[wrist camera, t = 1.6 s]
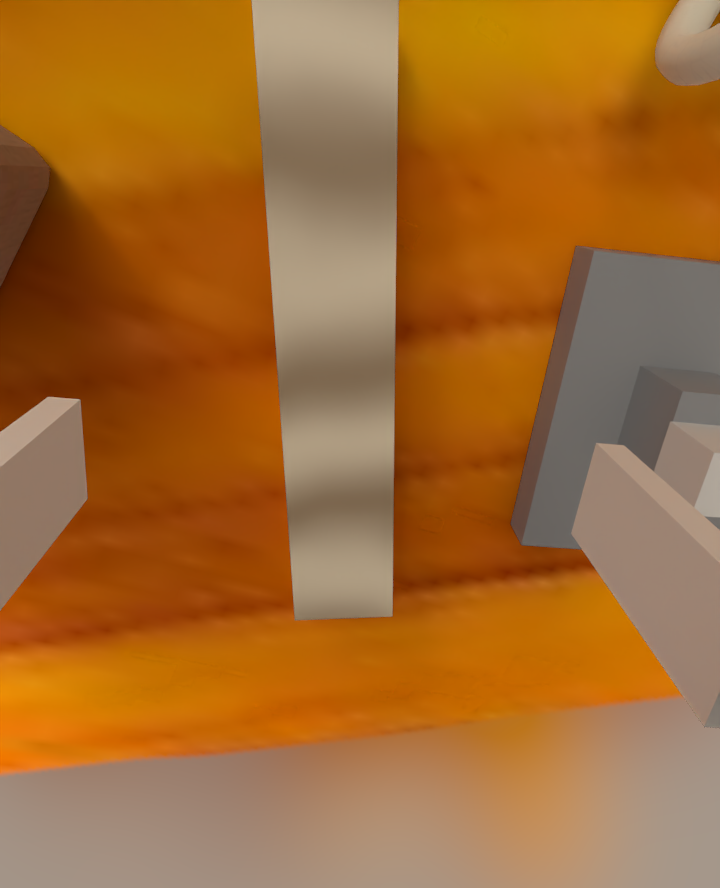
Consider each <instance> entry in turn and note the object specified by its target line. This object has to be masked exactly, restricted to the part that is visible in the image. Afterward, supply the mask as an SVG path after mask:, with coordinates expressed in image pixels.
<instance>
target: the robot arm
mask: <svg viewBox="0 0 720 888" xmlns="http://www.w3.org/2000/svg"><path fill="white" fill-rule="evenodd" d="M87 499H88V496H87V482H86V468H85V455H84V441H83V427H82V413H81V400H80V399H71V398H59V397H47V398H46V399H44V400H43V401H42V402H40V403H39V404H37V405H36V406H35V407H33V408H32V409H31V410H29V411H28V412H27V413H25V414H24V415H23V416H21V417H20V418H19V419H17V420H16V421H14V422H13V423H12V424H10V425H9V426H8V427H6V428H5V429H4V430H2V431H1V432H0V610H1V609H2V608H3V606H4V605H5V604H6V603H7V601H8V600H9V599H10V597H11V596H12V595H13V594H14V592H15V591H16V590H17V588H18V587H19V586H20V585H21V583H22V582H23V581H24V580H25V578H26V577H27V576H28V574H29V573H30V572H31V571H32V569H33V568H34V567H35V565H36V564H37V563H38V562H39V560H40V559H41V558H42V557H43V555H44V554H45V553H46V551H47V550H48V549H49V548H50V546H51V545H52V544H53V542H54V541H55V540H56V539H57V537H58V536H59V535H60V534H61V532H62V531H63V530H64V528H65V527H66V526H67V525H68V523H69V522H70V521H71V519H72V518H73V517H74V516H75V514H76V513H77V512H78V511H79V509H80V508H81V507H82V505H83V504H84V503H85V502H86V500H87ZM571 534H572V536H573V537H574V539H575V540H576V542H577V543H578V544H579V546H580V547H581V549H582V550H583V552H584V553H585V555H586V556H587V557H588V559H589V560H590V562H591V563H592V565H593V566H594V568H595V569H596V571H597V572H598V573H599V575H600V576H601V578H602V579H603V581H604V582H605V584H606V585H607V587H608V588H609V589H610V591H611V592H612V594H613V595H614V597H615V598H616V600H617V601H618V603H619V604H620V605H621V607H622V608H623V610H624V611H625V613H626V614H627V616H628V617H629V619H630V620H631V621H632V623H633V624H634V626H635V627H636V629H637V630H638V632H639V633H640V635H641V636H642V637H643V639H644V640H645V642H646V643H647V645H648V646H649V648H650V649H651V651H652V652H653V653H654V655H655V656H656V658H657V659H658V661H659V662H660V664H661V665H662V666H663V668H664V669H665V671H666V672H667V674H668V675H669V677H670V678H671V680H672V681H673V682H674V684H675V685H676V687H677V688H678V690H679V691H680V693H681V694H682V696H683V697H684V698H685V700H686V701H687V703H688V704H689V706H690V707H691V709H692V710H693V711H694V713H695V714H696V716H697V717H698V719H699V720H700V722H701V723H702V725H703V726H704V727H713V728H720V530H719V529H718V528H717V527H716V526H714V525H713V524H712V523H711V522H710V521H709V520H708V519H707V518H705V517H704V516H703V515H702V514H701V513H700V512H699V511H698V510H696V509H695V508H694V507H693V506H692V505H691V504H690V503H689V502H687V501H686V500H685V499H684V498H683V497H682V496H681V495H680V494H678V493H677V492H676V491H675V490H674V489H673V488H672V487H671V486H669V485H668V484H667V483H666V482H665V481H664V480H663V479H661V478H660V477H659V476H658V475H657V474H656V473H655V472H654V471H652V470H651V469H650V468H649V467H648V466H647V465H646V464H645V463H643V462H642V461H641V460H640V459H639V458H638V457H637V456H636V455H634V454H633V453H632V452H631V451H630V450H629V449H628V448H627V447H625V446H624V445H614V444H602V443H596V445H595V449H594V452H593V456H592V460H591V463H590V467H589V470H588V474H587V478H586V481H585V485H584V489H583V492H582V496H581V499H580V503H579V507H578V510H577V514H576V518H575V521H574V525H573V528H572V532H571Z"/></svg>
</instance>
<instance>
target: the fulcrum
mask: <svg viewBox="0 0 720 888" xmlns="http://www.w3.org/2000/svg"><path fill="white" fill-rule="evenodd" d="M596 443H602V444H614V445H624V446H625V447H627V448H628V449H629V450H630V451H631V452H632V453H633V454H634V455H636V456H637V457H638V458H639V459H640V460H641V461H642V462H643V463H645V464H646V465H647V466H648V467H649V468H650V469H651V470H652V471H654V472H655V473H656V474H657V475H658V476H659V477H660V478H661V479H663V480H664V481H665V482H666V483H667V484H668V485H669V486H671V487H672V488H673V489H674V490H675V491H676V492H677V493H678V494H680V495H681V496H682V497H683V498H684V499H685V500H686V501H687V502H689V503H690V504H691V505H692V506H693V507H694V508H695V509H696V510H698V511H699V512H700V513H701V514H702V515H703V516H704V517H705V518H707V519H708V520H709V521H710V522H711V523H712V524H713V525H714V526H716V527H717V528H718V529H719V530H720V262H719V261H710V260H701V259H692V258H683V257H674V256H665V255H656V254H647V253H637V252H628V251H619V250H610V249H601V248H592V247H583V246H576V248H575V252H574V256H573V261H572V265H571V269H570V273H569V277H568V282H567V286H566V290H565V294H564V299H563V303H562V307H561V311H560V316H559V320H558V324H557V328H556V333H555V337H554V341H553V345H552V350H551V354H550V358H549V362H548V367H547V371H546V375H545V379H544V384H543V388H542V392H541V396H540V401H539V405H538V409H537V413H536V418H535V422H534V426H533V430H532V435H531V439H530V443H529V447H528V452H527V456H526V460H525V464H524V469H523V473H522V477H521V481H520V486H519V490H518V494H517V498H516V503H515V507H514V511H513V515H512V519H511V526H512V528H513V530H514V532H515V534H516V536H517V538H518V540H519V542H520V544H521V545H525V546H540V547H555V548H569V549H581V547H580V546H579V544H578V543H577V542H576V540H575V539H574V537H573V536H572V534H571V532H572V528H573V525H574V521H575V518H576V514H577V510H578V507H579V503H580V499H581V496H582V492H583V489H584V485H585V481H586V478H587V474H588V470H589V467H590V463H591V460H592V456H593V452H594V449H595V445H596Z"/></svg>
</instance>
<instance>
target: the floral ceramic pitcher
mask: <svg viewBox="0 0 720 888" xmlns="http://www.w3.org/2000/svg"><path fill="white" fill-rule="evenodd" d="M719 11H720V0H679V2H678V3H677V5H676V6H675V8H674V9H673V11H672V13H671V14H670V16H669V18H668V19H667V21H666V23H665V25H664V27H663V29H662V31H661V34H660V36H659V38H658V41H657V45H656V49H655V62H656V67H657V68H658V70H659V71H660V72H661V74H662V75H663V76H664V77H665V78H666V79H667V80H668V81H670V82H672V83H674V84H675V85H684V86H688V85H701V84H704V83H708V82H712V81H715V80H718V79H720V23H719V24H717V25H715V26H714V27H712V28H710V27H711V25H712V23H713V21H714V20H715V18H716V16H717V15H718V13H719Z"/></svg>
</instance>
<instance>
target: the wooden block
mask: <svg viewBox="0 0 720 888" xmlns="http://www.w3.org/2000/svg"><path fill="white" fill-rule="evenodd" d="M50 169H51V168H50V167H49V166H48V165H47V164H46V162H45V161H44V160H43V159H42V157H41V156H40V155H39V153H38V152H37V151H36V149H35V148H34V147H32V146H31V145H29V144H28V143H26V142H25V141H23V140H22V139H20V138H19V137H17V136H16V135H14V134H13V133H11V132H10V131H8V130H7V129H5V128H4V127H3V126H1V125H0V287H1V285H2V283H3V281H4V279H5V277H6V275H7V272H8V270H9V268H10V266H11V264H12V262H13V260H14V258H15V256H16V254H17V252H18V250H19V248H20V246H21V243H22V241H23V239H24V237H25V235H26V233H27V231H28V229H29V227H30V225H31V223H32V221H33V219H34V217H35V214H36V212H37V210H38V208H39V206H40V204H41V202H42V200H43V198H44V196H45V194H46V192H47V190H48V186H49V177H50Z"/></svg>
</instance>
